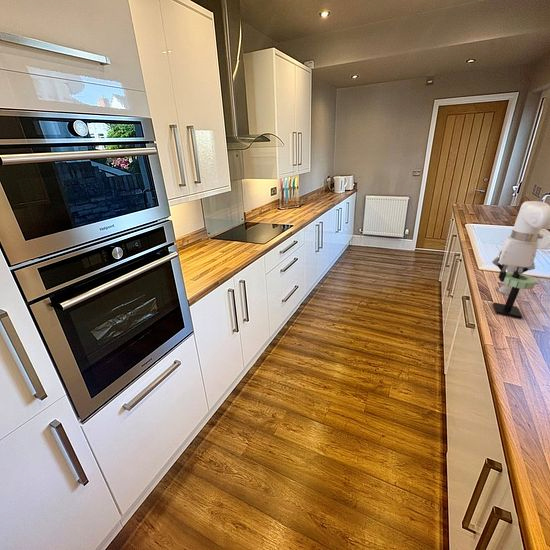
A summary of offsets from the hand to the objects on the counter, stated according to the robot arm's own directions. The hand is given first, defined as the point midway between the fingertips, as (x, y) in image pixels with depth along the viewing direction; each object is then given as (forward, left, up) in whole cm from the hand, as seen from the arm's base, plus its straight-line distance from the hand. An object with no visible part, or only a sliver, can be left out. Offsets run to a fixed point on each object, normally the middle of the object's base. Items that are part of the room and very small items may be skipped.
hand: (506, 280), depth 113 cm
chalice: (-7, -20, -13) cm, 25 cm away
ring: (-3, 0, 0) cm, 3 cm away
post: (-4, 0, -13) cm, 14 cm away
